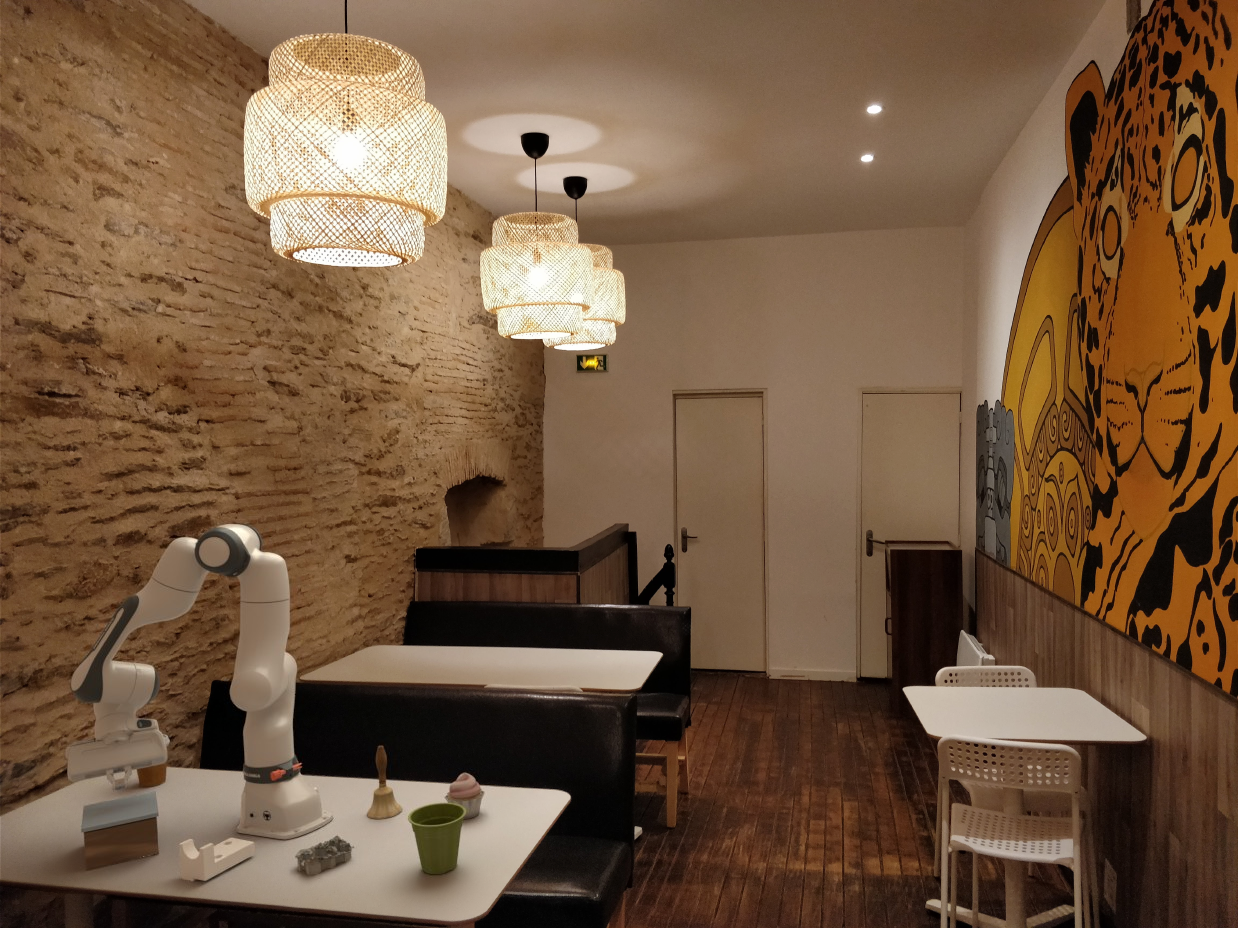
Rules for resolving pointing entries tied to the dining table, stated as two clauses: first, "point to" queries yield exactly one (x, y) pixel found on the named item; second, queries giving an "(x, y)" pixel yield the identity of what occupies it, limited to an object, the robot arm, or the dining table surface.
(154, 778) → the disposable coffee cup
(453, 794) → the cupcake
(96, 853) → the box
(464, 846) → the dining table surface
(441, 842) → the plant pot
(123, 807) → the lid
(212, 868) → the bracket
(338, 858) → the egg carton
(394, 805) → the hand bell
